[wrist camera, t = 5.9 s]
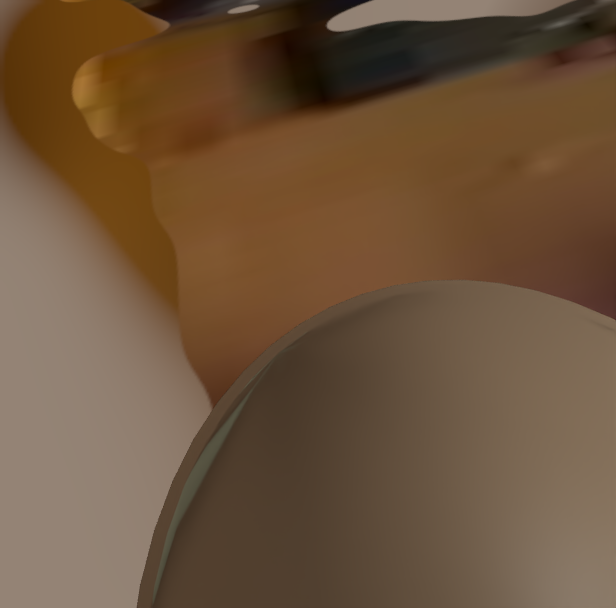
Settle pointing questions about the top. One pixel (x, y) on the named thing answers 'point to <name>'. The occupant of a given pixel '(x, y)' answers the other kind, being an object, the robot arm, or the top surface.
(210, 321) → the top surface
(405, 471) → the peg
